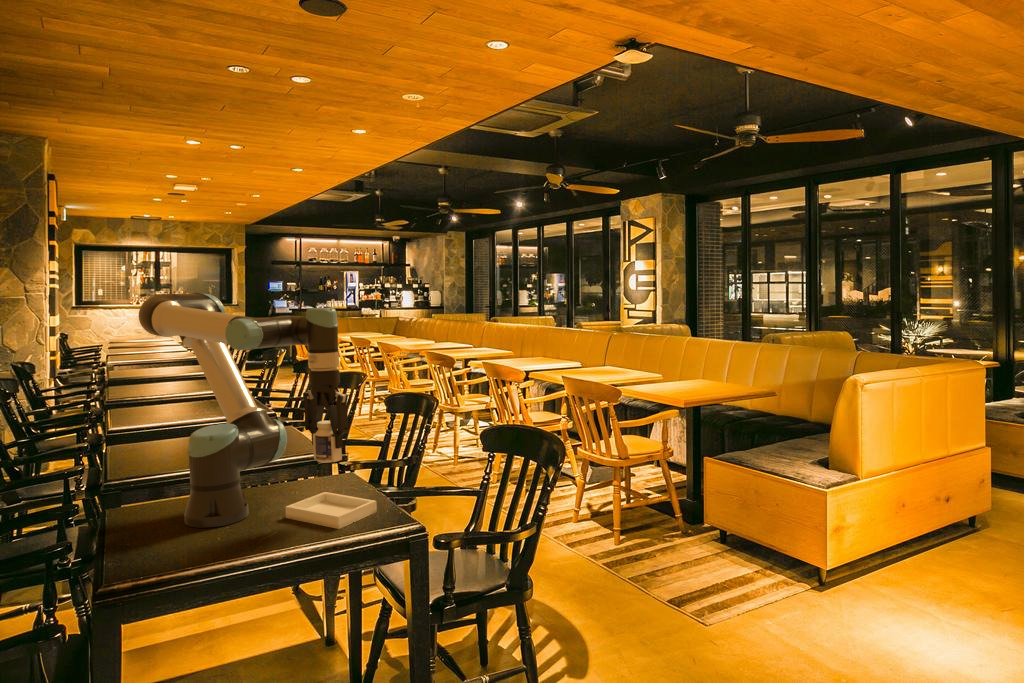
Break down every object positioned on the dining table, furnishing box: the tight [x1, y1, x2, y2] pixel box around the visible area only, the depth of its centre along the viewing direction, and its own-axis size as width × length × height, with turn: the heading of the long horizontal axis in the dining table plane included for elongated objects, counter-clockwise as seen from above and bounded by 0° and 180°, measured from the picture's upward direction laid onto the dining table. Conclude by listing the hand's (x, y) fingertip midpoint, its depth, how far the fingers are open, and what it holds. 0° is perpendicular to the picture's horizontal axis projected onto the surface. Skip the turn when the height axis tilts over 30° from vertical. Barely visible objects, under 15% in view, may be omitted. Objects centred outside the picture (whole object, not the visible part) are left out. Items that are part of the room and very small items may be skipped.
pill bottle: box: [315, 420, 333, 464], centre depth 173 cm, size 6×6×10 cm
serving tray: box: [285, 491, 378, 530], centre depth 175 cm, size 18×14×3 cm
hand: (327, 459), depth 173 cm, fingers closed on pill bottle, 6 cm apart
